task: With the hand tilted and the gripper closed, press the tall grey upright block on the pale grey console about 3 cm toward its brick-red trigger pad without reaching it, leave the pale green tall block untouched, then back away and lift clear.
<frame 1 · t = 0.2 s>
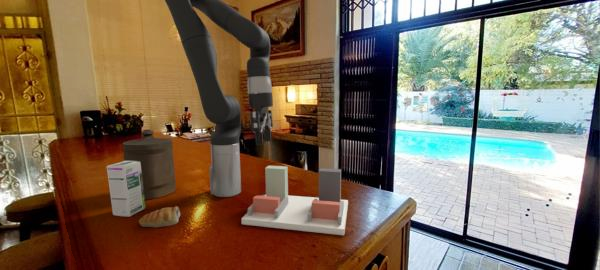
hand: (264, 143, 83), 18 cm above the worktop, tool pointing down, fingers open, 8 cm apart
pale green tall block: (276, 183, 77), point 7 cm above the worktop, slide at 0.0 cm
syrup box: (129, 212, 74), on the worktop
pastry: (163, 223, 68), on the worktop
console: (299, 213, 72), on the worktop
grey canister: (152, 192, 90), on the worktop
grey upright block: (329, 187, 74), point 7 cm above the worktop, slide at 0.0 cm
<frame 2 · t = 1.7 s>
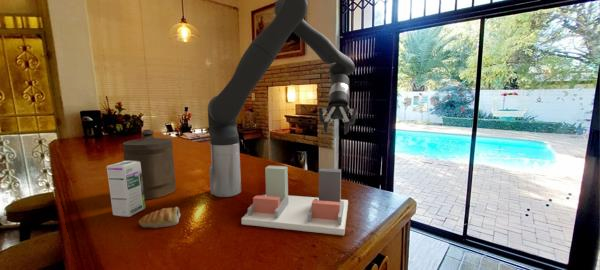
hand: (335, 132, 87), 20 cm above the worktop, tool tilted 45°, fingers open, 5 cm apart
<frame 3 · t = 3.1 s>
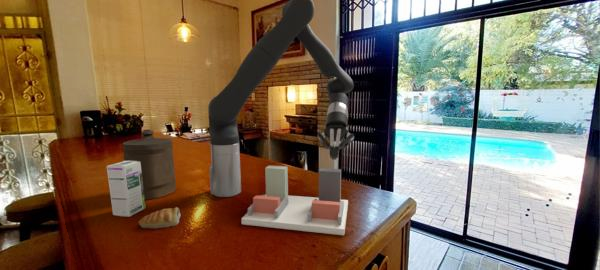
hand: (333, 158, 83), 13 cm above the worktop, tool tilted 45°, fingers closed
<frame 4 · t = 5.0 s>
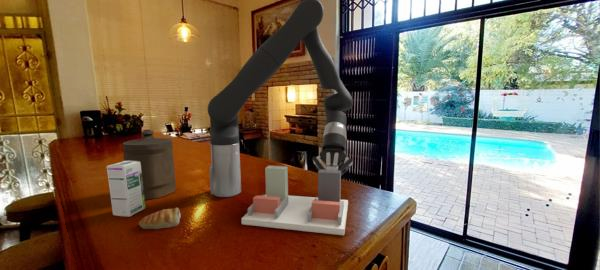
hand: (330, 186, 75), 6 cm above the worktop, tool tilted 45°, fingers closed
grey upright block: (329, 188, 73), point 7 cm above the worktop, slide at 1.2 cm, touching gripper
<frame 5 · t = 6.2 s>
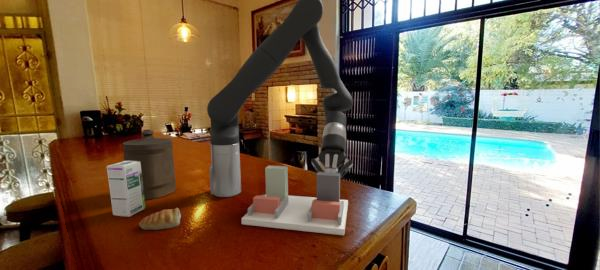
hand: (329, 189, 72), 6 cm above the worktop, tool tilted 45°, fingers closed
grey upright block: (328, 191, 70), point 7 cm above the worktop, slide at 3.7 cm, touching gripper
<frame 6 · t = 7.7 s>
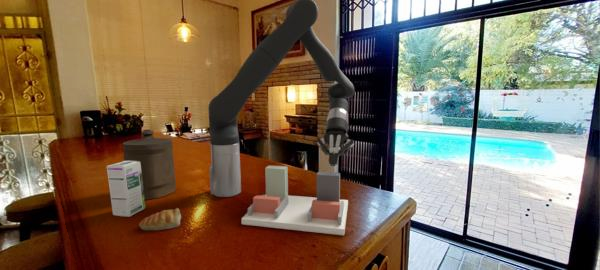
hand: (332, 164, 82), 11 cm above the worktop, tool tilted 45°, fingers closed
grey upright block: (328, 191, 70), point 7 cm above the worktop, slide at 3.7 cm
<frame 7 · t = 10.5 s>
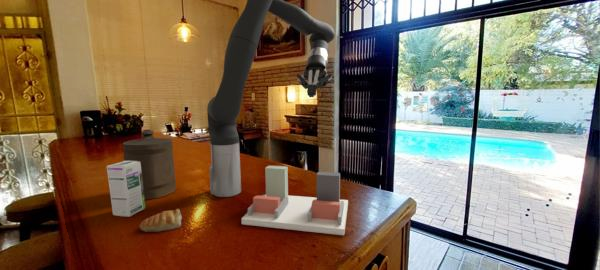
hand: (311, 95, 85), 33 cm above the worktop, tool tilted 45°, fingers closed
at the end: grey upright block slide at 3.7 cm; pale green tall block slide at 0.0 cm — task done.
